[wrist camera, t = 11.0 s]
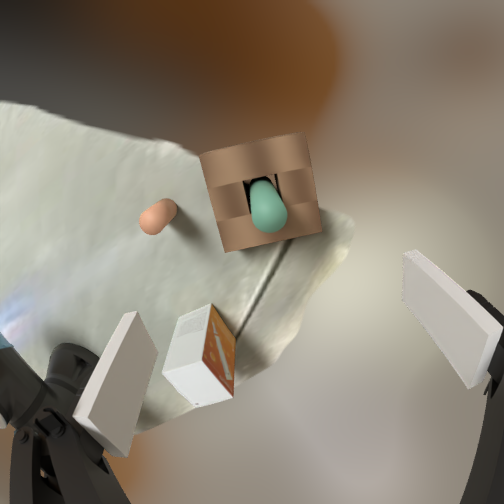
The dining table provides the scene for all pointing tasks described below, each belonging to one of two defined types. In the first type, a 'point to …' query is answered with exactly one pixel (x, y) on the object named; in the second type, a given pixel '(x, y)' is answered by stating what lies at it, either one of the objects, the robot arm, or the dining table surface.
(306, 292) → the dining table surface
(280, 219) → the long dowel
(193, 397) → the small box
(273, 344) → the dining table surface
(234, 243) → the collar block
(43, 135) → the dining table surface
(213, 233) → the dining table surface
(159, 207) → the short dowel
